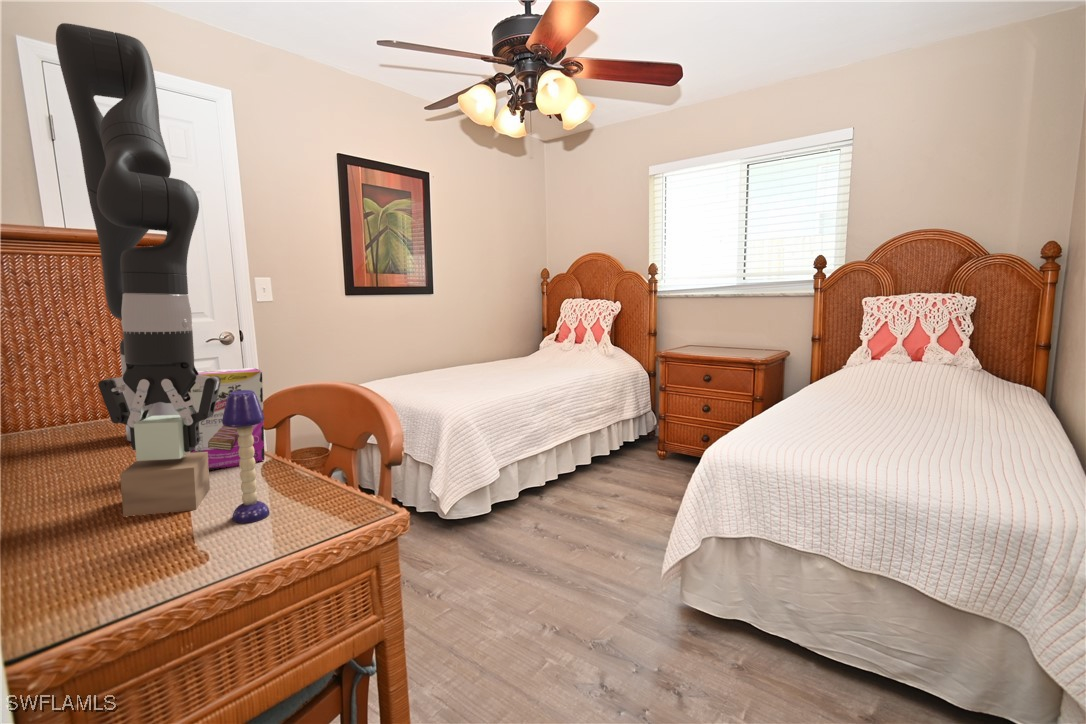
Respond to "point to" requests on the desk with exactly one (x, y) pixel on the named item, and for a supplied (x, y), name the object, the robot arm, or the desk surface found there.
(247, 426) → the toy lamp
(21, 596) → the desk surface
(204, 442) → the candy bar box
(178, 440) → the sage block
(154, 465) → the walnut block
